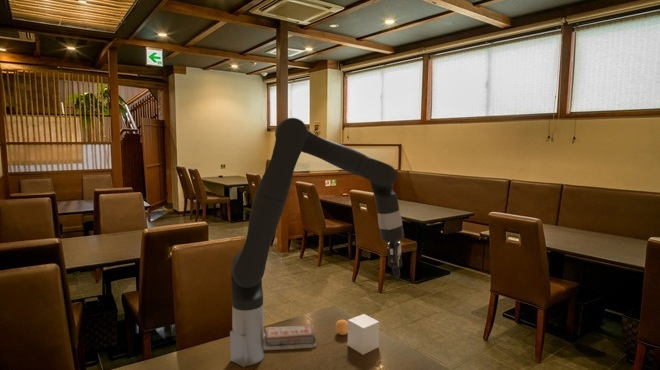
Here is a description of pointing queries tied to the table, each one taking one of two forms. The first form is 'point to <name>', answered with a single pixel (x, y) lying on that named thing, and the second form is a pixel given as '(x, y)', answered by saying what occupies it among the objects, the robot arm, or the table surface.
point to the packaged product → (289, 337)
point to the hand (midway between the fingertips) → (398, 271)
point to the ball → (341, 327)
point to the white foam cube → (363, 333)
